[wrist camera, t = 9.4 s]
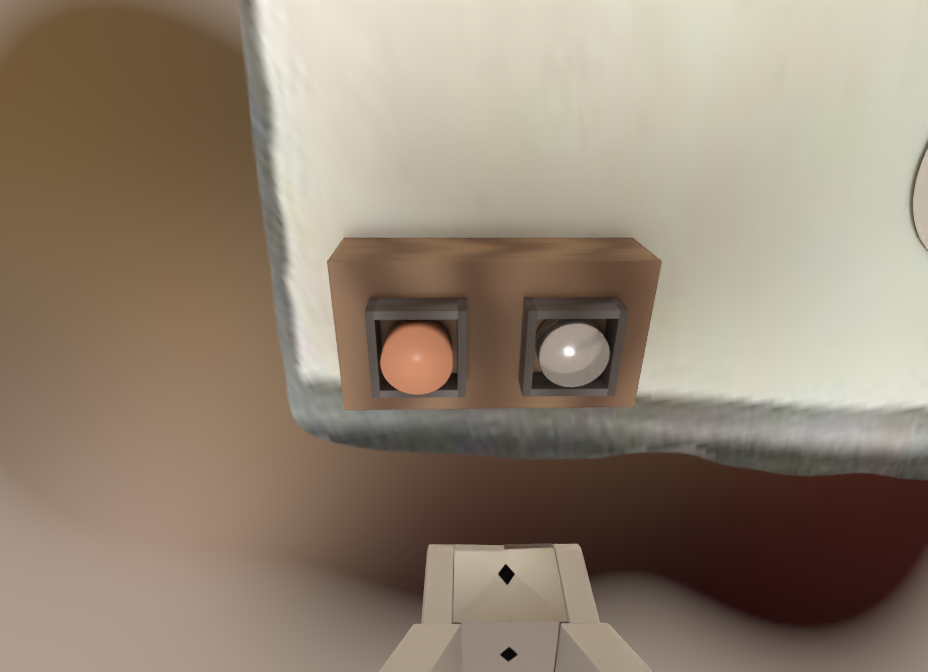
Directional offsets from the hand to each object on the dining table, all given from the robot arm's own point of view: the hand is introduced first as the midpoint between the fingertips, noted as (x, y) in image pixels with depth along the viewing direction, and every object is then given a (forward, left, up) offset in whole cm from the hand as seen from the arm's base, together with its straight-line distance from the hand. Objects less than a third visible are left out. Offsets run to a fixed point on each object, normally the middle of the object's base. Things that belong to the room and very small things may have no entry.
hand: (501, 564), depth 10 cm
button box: (-2, +5, -25) cm, 26 cm away
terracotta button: (+3, +5, -19) cm, 20 cm away
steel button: (-6, +5, -20) cm, 21 cm away
